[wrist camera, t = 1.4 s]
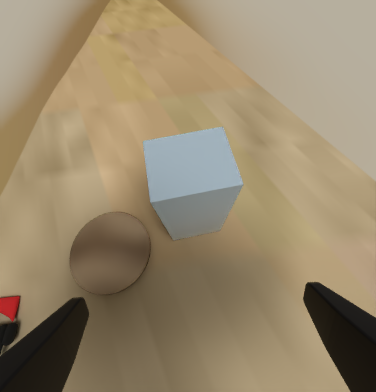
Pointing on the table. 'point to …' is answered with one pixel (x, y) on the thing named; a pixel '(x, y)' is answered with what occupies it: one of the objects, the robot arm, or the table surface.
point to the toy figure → (9, 308)
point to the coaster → (109, 253)
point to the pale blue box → (192, 181)
